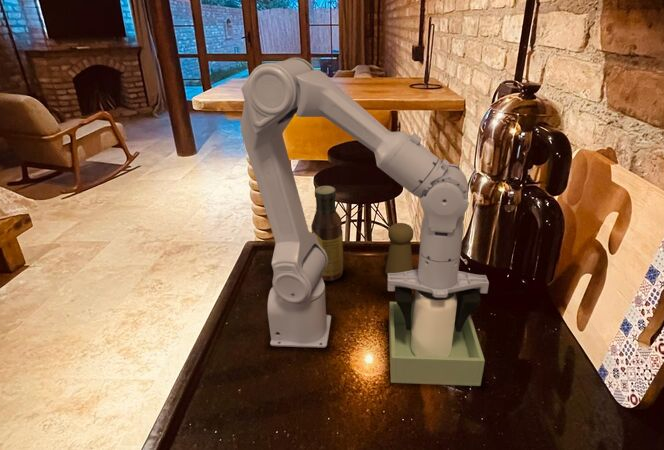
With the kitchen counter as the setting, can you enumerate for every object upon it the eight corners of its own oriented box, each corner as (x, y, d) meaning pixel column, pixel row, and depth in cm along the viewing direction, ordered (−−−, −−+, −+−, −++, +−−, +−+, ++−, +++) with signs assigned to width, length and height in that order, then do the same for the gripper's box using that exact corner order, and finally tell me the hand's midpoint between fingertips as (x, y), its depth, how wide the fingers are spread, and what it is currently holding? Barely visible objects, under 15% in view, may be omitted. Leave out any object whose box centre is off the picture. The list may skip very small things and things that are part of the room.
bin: (390, 382, 61) (391, 357, 58) (388, 324, 72) (389, 301, 70) (480, 386, 60) (485, 360, 58) (463, 326, 72) (467, 303, 69)
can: (450, 367, 62) (458, 304, 57) (408, 360, 64) (412, 298, 59) (451, 339, 68) (458, 279, 63) (412, 333, 69) (416, 274, 64)
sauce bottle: (318, 265, 90) (313, 181, 81) (345, 267, 89) (343, 182, 81) (311, 282, 84) (305, 194, 76) (341, 284, 84) (338, 195, 75)
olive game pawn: (414, 279, 85) (417, 232, 80) (386, 279, 85) (387, 232, 80) (411, 263, 91) (414, 219, 86) (384, 263, 91) (385, 219, 86)
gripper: (389, 265, 55) (386, 343, 61) (499, 268, 54) (485, 346, 60) (388, 240, 61) (386, 313, 67) (486, 242, 60) (475, 315, 66)
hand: (432, 326), depth 64 cm, fingers open, 7 cm apart
